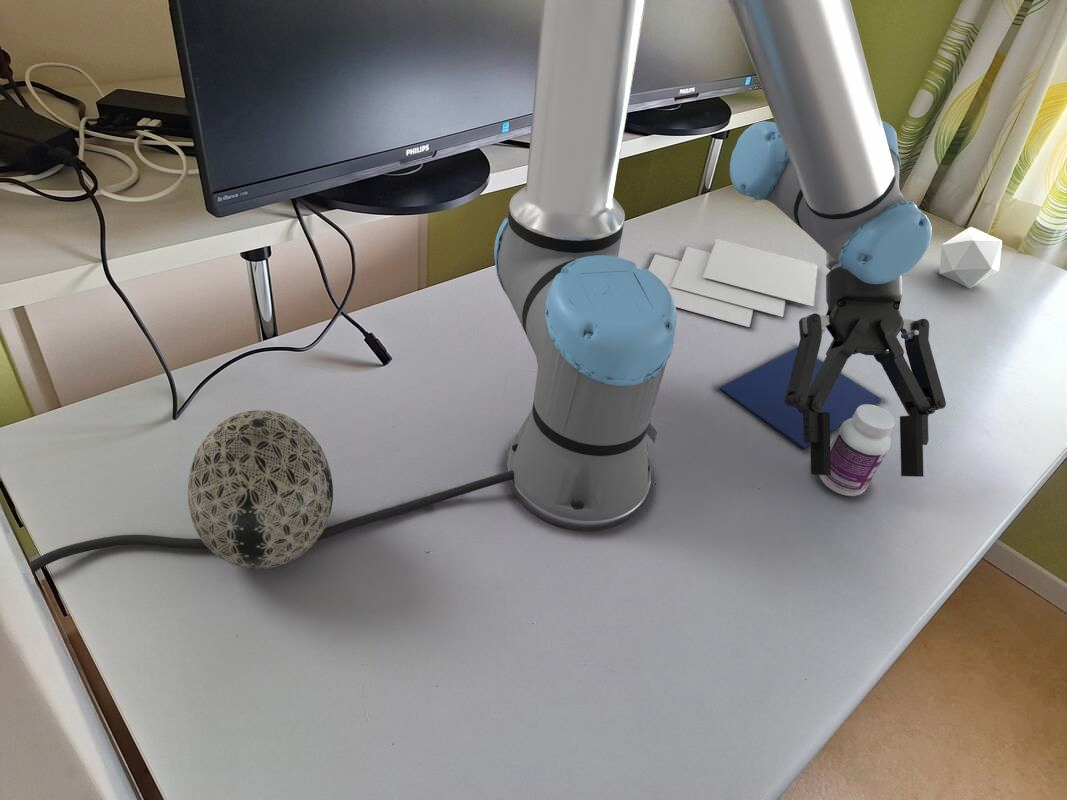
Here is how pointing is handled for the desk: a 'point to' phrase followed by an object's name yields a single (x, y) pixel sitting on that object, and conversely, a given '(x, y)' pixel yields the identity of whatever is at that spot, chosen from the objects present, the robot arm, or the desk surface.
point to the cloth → (768, 393)
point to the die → (970, 257)
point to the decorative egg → (260, 490)
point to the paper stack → (735, 281)
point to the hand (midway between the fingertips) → (866, 475)
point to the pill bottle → (859, 450)
